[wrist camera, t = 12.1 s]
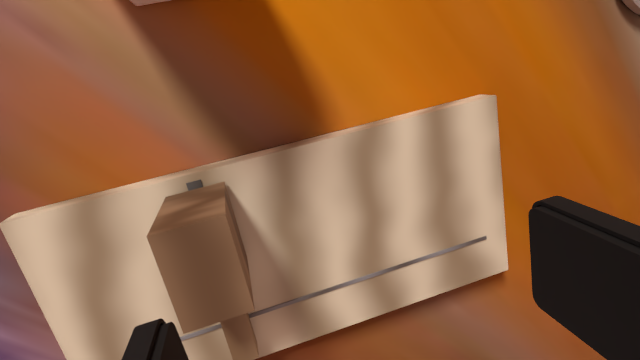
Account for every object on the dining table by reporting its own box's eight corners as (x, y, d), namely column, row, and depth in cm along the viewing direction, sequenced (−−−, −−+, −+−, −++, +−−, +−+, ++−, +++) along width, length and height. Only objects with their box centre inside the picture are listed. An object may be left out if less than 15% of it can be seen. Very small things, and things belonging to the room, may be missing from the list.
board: (480, 94, 32) (496, 95, 30) (493, 260, 37) (509, 270, 35) (14, 213, 26) (-3, 224, 24) (102, 395, 31) (94, 416, 29)
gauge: (224, 181, 27) (225, 214, 20) (270, 334, 30) (283, 404, 24) (165, 197, 26) (146, 236, 19) (220, 351, 30) (219, 428, 23)
